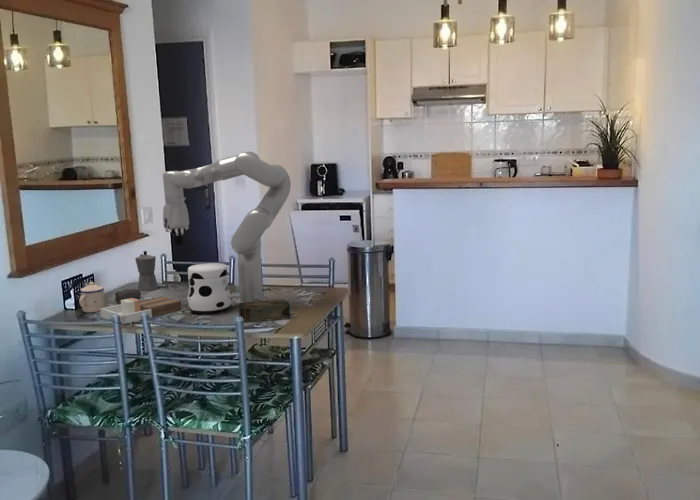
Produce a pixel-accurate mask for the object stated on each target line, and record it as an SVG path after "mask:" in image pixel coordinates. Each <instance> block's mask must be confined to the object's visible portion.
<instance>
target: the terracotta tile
mask: <svg viewBox="0 0 700 500" xmlns="http://www.w3.org/2000/svg"><path fill="white" fill-rule="evenodd" d="M128 300H131V301H134V307H135V312H139V311H141V307H140V301H141V300H140V299H139V300H138V299H134V298H129V299H128Z"/></svg>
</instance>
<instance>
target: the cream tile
mask: <svg viewBox="0 0 700 500" xmlns="http://www.w3.org/2000/svg"><path fill="white" fill-rule="evenodd" d="M121 310H122V315H126V314H130V313H135V307H134V301H131V300H128V299H125V300H121Z"/></svg>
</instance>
